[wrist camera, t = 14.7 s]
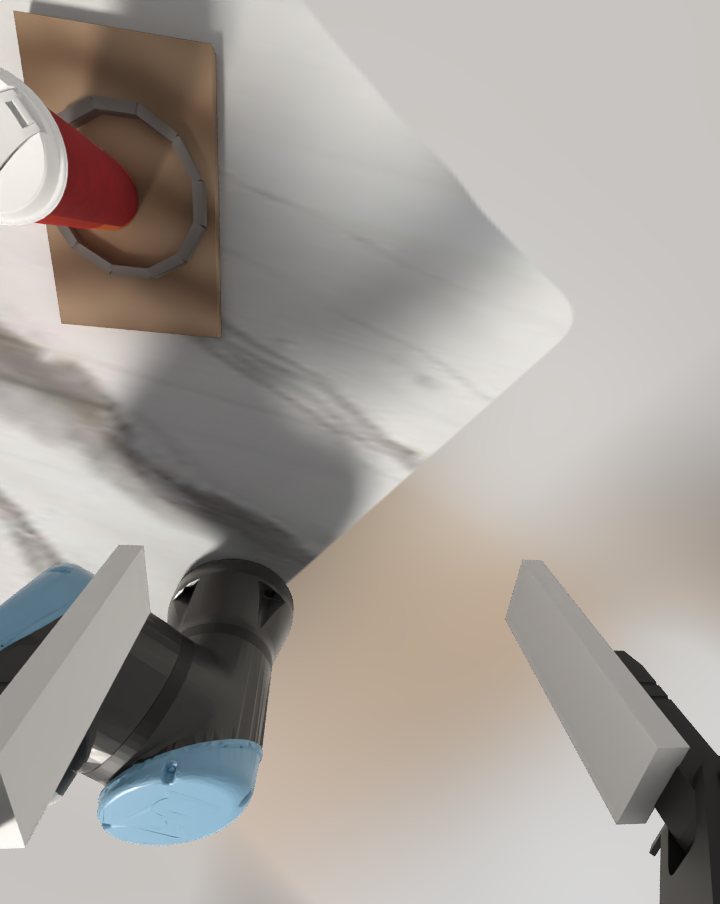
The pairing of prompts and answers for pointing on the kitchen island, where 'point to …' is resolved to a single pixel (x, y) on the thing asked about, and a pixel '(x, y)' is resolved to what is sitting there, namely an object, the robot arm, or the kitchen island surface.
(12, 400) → the kitchen island surface
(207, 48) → the seat board
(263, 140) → the kitchen island surface
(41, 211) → the paper cup
